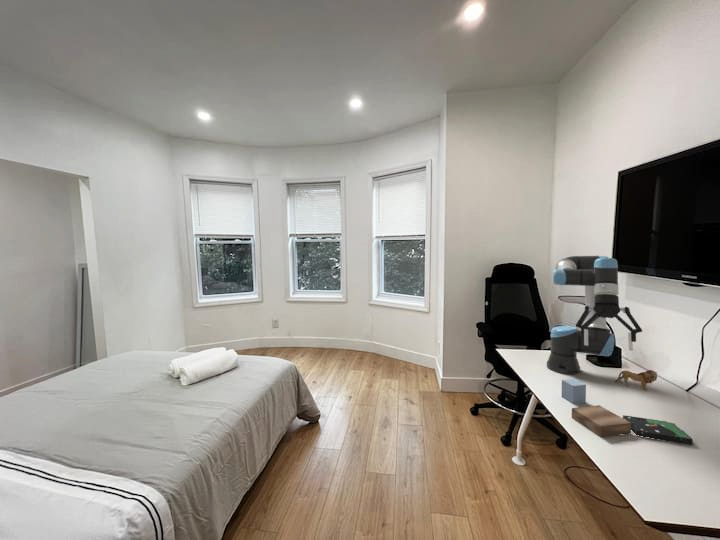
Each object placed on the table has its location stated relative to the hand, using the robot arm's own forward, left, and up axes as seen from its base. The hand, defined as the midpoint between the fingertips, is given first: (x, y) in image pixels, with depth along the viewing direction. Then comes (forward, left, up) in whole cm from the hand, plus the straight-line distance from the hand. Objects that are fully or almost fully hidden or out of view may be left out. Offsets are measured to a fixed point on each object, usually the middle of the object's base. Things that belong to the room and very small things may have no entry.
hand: (607, 347), depth 114 cm
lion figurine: (-17, +34, -27) cm, 47 cm away
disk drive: (+14, +5, -27) cm, 31 cm away
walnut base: (+7, -10, -26) cm, 29 cm away
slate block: (-11, -4, -27) cm, 29 cm away
